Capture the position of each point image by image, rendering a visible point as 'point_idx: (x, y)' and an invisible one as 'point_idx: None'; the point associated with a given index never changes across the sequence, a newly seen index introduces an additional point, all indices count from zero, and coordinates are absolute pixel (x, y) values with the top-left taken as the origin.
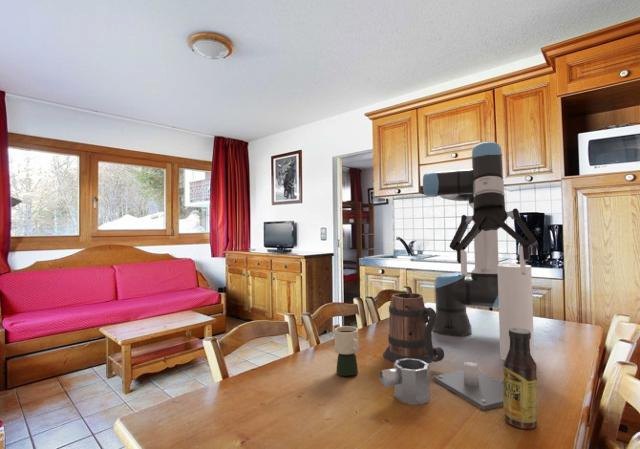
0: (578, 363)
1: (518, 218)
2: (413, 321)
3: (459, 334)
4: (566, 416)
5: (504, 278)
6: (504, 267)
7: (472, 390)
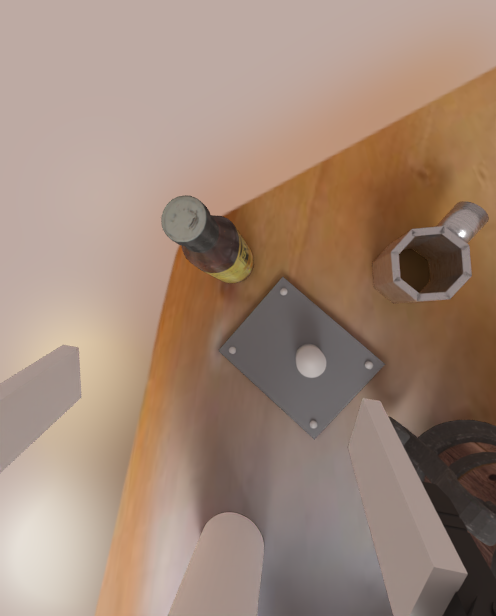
0: (127, 555)
1: None
2: None
3: None
4: (175, 312)
5: None
6: None
7: (304, 328)
